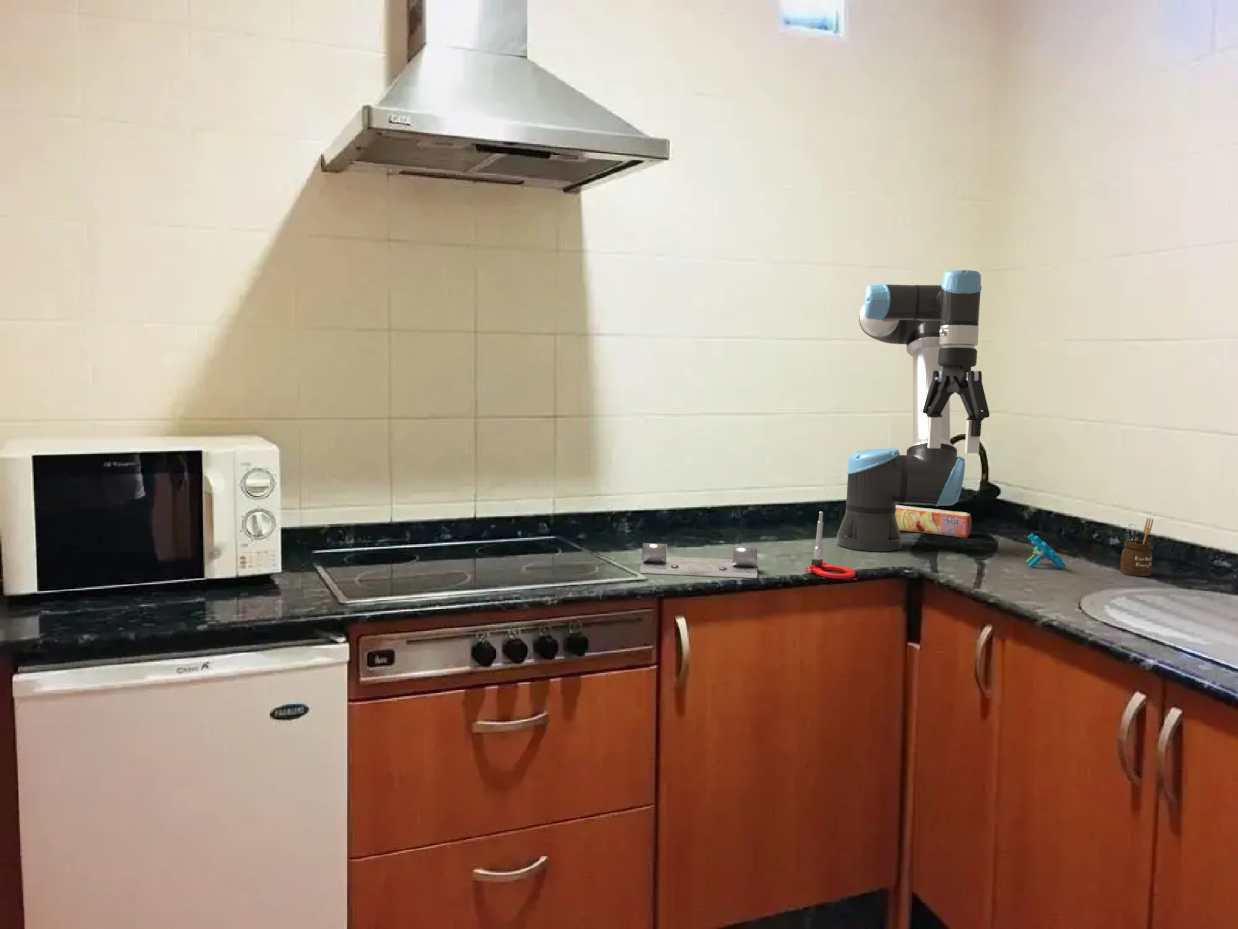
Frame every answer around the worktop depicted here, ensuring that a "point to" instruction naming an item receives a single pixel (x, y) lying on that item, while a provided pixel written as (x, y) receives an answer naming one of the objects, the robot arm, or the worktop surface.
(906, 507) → the snack package
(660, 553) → the hinge leaf
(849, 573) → the tow hook
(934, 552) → the worktop surface
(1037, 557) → the gear
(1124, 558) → the utensil holder
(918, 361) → the robot arm
